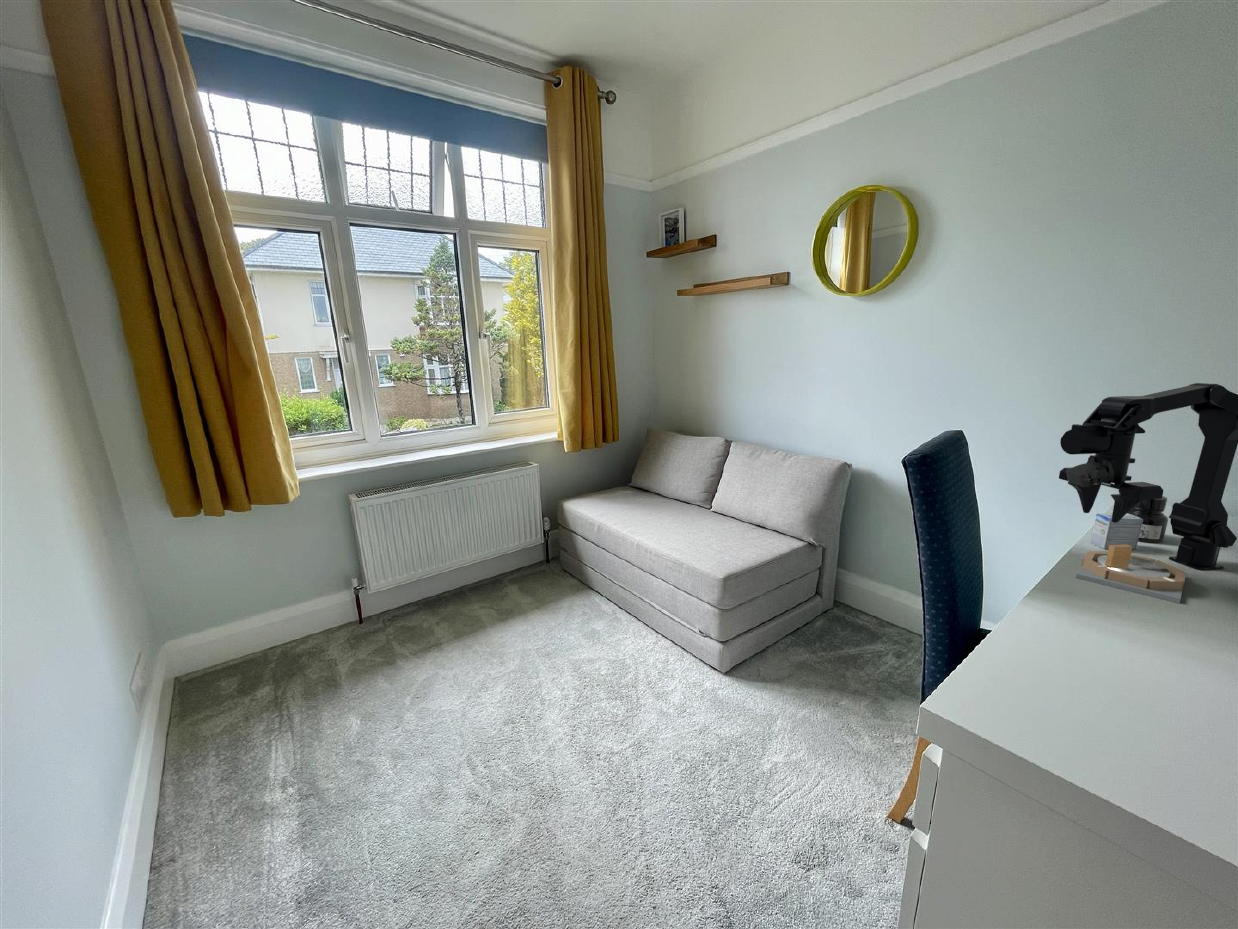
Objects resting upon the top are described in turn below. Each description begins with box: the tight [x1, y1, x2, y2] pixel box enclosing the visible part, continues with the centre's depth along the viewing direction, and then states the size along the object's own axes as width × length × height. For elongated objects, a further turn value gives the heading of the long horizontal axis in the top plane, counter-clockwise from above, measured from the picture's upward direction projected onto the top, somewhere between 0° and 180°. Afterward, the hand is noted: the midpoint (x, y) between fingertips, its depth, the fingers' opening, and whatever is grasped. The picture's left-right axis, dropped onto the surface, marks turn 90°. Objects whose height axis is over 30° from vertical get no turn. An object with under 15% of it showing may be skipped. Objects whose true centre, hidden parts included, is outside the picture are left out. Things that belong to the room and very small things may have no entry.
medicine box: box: [1090, 512, 1143, 550], centre depth 129 cm, size 8×4×9 cm, turn 84°
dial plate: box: [1075, 550, 1187, 604], centre depth 112 cm, size 18×16×3 cm
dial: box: [1097, 544, 1170, 578], centre depth 112 cm, size 12×12×7 cm
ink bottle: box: [1128, 496, 1169, 543], centre depth 134 cm, size 10×9×12 cm
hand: (1100, 517), depth 115 cm, fingers open, 6 cm apart
